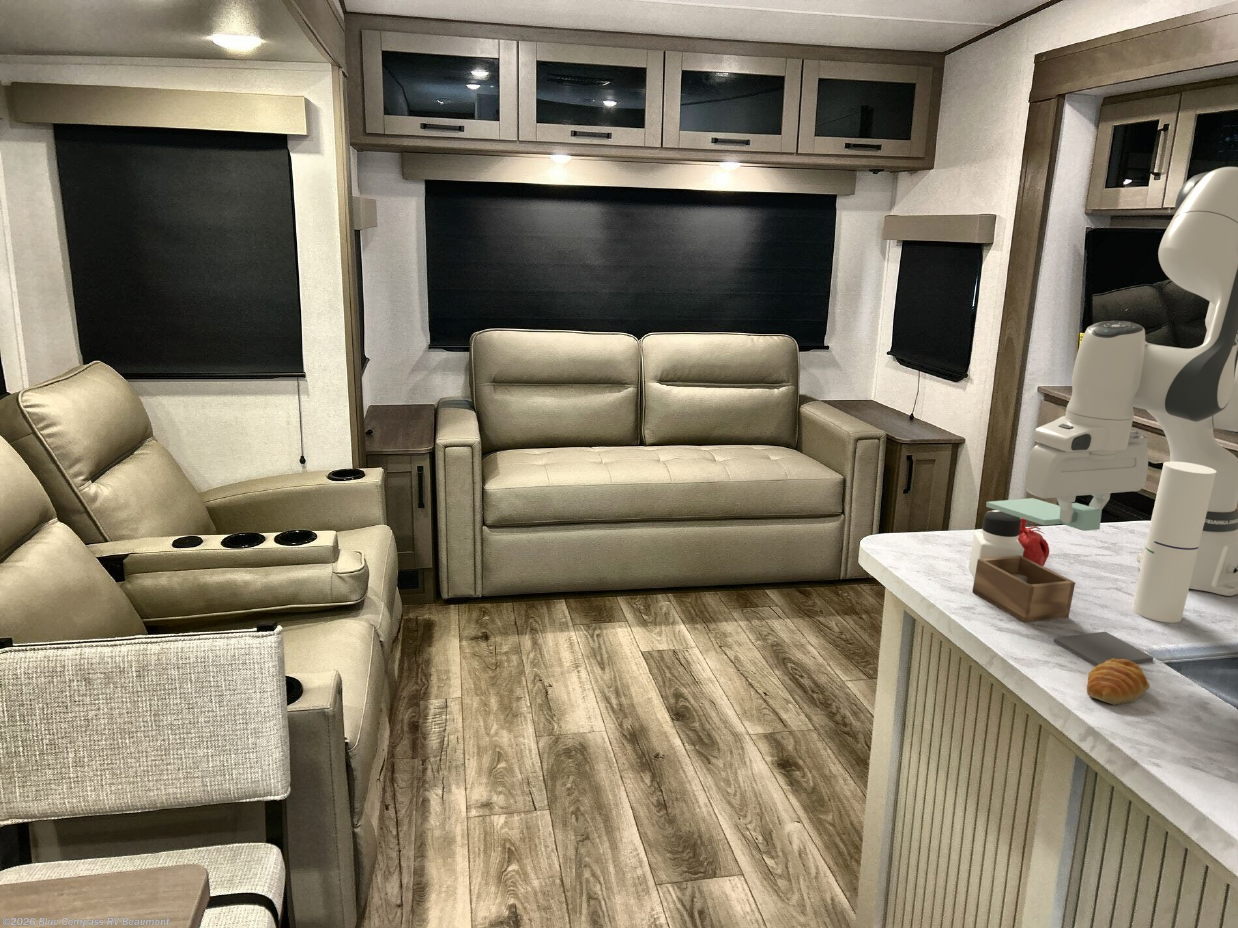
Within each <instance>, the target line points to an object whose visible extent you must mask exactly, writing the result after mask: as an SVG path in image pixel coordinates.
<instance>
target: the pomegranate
mask: <svg viewBox="0 0 1238 928" xmlns="http://www.w3.org/2000/svg"><path fill="white" fill-rule="evenodd" d="M1020 519H1021V526H1020V532H1019V537H1018V541H1019V543H1020V544H1021V545H1022V547H1023V548H1024V555H1023V557H1025V558H1027V559H1029V560H1031V561H1033V562H1035V563H1037V564H1039V565H1041V566H1043V567H1045V565H1046V562H1047V560H1048V558H1049V556H1050V546H1049V544H1048V542H1047V540H1046V539H1045V538H1044V537H1043V535H1042V534H1045V533H1044V532H1043V531H1041V529H1042V528H1041V527H1040V528H1039V527H1038V526H1036V525H1035V526H1031V527H1026V525H1027V521H1028V520H1026V519H1023V518H1020ZM1039 532H1040V533H1042V534H1040V533H1039Z"/></svg>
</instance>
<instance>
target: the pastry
mask: <svg viewBox="0 0 1238 928" xmlns="http://www.w3.org/2000/svg"><path fill="white" fill-rule="evenodd" d="M1150 687H1151V685H1150V683H1149V682H1148V680H1147V677H1146V674H1145V673H1144V671H1143V668H1142V667H1141V666H1140V665H1139V664H1138V663H1134V662H1131V661H1129V660H1127V659H1115V658H1112V659H1111V660H1107V661H1105V662H1104V663H1102V664H1099V665H1097V666H1094V667H1093V669H1092V670H1091V671H1090V672H1089V673H1088V675H1087V684H1086V692H1087V694H1088V696H1089V698H1092V699H1096V700H1099V701H1102V702H1105V703H1107V704H1109V705H1113V706H1114V705H1115V706H1118V705H1120V703H1121V704H1128V703H1129V704H1131V702H1132V703H1135V701H1136V700H1137V698H1138V699H1139V698H1141V697H1142V696H1143V695H1145V693H1147V691H1148V690H1149V689H1150ZM1116 704H1117V705H1116Z"/></svg>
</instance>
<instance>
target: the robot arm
mask: <svg viewBox="0 0 1238 928" xmlns="http://www.w3.org/2000/svg"><path fill="white" fill-rule="evenodd" d="M1157 254H1158V256H1157V257H1158V262H1159V264H1160V267H1161V269H1162V271H1163V272H1164V274H1165V275H1166V277H1168V278H1169V280H1171V282H1173V283H1174V284H1175V285H1177V286H1178V287H1180V288H1182V290H1183V289H1184V290H1185V291H1187V292H1190V293H1192V294H1195V295H1198V296H1200V297H1201V298H1203V299H1205V300H1207V301H1208V302H1209V304H1208V307H1207V313H1206V315H1205V316H1206V317H1205V319H1204V322H1205V324H1204V325H1205V327H1206V333H1205V337H1204V340H1203V343H1202V344H1201V345H1199V346H1196V347H1193V348H1182V347H1174V346H1166V345H1159V344H1155V343H1149V342H1147V341H1146V330H1145V328H1144V327H1143V326H1142V325H1140V324H1137V323H1135V322H1131V321H1126V320H1110V321H1105V320H1104V321H1100V322H1095V323H1093V324H1092V325H1090V326H1088V327H1087V328H1086V330H1085V332H1084V333H1083V336H1082V338H1081V340H1080V344H1079V348H1078V351H1077V353H1076V358H1075V361H1074V365H1073V371H1072V376H1071V391H1072V392H1071V396H1070V400H1068V401H1069V402H1068V404H1067V405H1066V409H1065V415H1062V416H1060V417H1059V418H1057V419H1054V420H1053V421H1051V422H1047V423H1046V424H1043V425H1041V426H1039V427H1036V429H1034V432H1033V441H1034V442H1037V444H1036V445H1034V446H1033V448H1032V449H1031V451H1030V453H1029V458H1028V460H1027V466H1026V471H1025V477H1024V487H1025V489H1026V491H1027V493H1029V494H1031V495H1033V496H1035V497H1038V498H1040V499H1054V498H1056V500H1057V503H1058V506H1060V509H1061V514H1060V520H1061V521H1063V522H1065V523H1073V522H1076V517H1077V514H1078V512H1076V511H1073V507H1072V503H1076V502H1075V501H1076V498H1077V496H1089V495H1090V496H1092V499H1091V501H1090V502H1089V504H1088V506H1089V507H1093V508H1096V509H1100V510H1103V509H1104V507H1105V506H1106V505H1107V503H1109V501H1110V498H1111V494H1112V493H1116V494H1117V493H1126V492H1127V493H1128V492H1137V491H1138V492H1139V491H1141V490H1142V489H1143V487H1144V486H1145V485H1146V483H1147V478H1148V477H1147V475H1148V469H1149V468H1148V467H1149V450H1148V444H1149V438H1148V437H1147V435H1146V434H1145V433H1144V432H1143V431H1142V430H1138V429H1136V430H1132V426H1133V420H1134V414H1135V413H1134V408H1136V409H1141V410H1145V411H1146V412H1147V413H1149V415H1151V416H1152V417H1153V418H1154V420H1156V422H1157V423H1158V425H1159V426H1160V427H1161V429H1162V431H1163V433H1164V435H1165V437H1166V441H1167V443H1168V448H1169V462H1170V461H1175V462H1186V463H1193V464H1198V465H1202V466H1206V467H1209V468H1212V469H1214V470H1216V475H1215V480H1214V484H1213V488H1212V493H1211V497H1210V501H1209V505H1208V510H1207V514H1206V518H1205V522H1204V526H1203V531H1202V535H1201V539H1200V543H1199V546H1198V552H1197V556H1196V560H1195V564H1194V569H1193V573H1192V577H1191V582H1190V586H1189V589H1191V590H1197V591H1202V592H1203V591H1204V592H1209V593H1213V594H1217V595H1222V596H1228V597H1230V596H1234V595H1235V596H1236V595H1238V508H1237V504H1238V457H1237V456H1236V455H1235V454H1233V453H1232V452H1230V451H1229V450H1228V449H1226V448H1225V447H1223V446H1222V445H1220V444H1219V442H1218V441H1217V440H1216V437H1215V436H1214V429H1215V430H1216V429H1217V430H1222V431H1223V430H1224V431H1230V432H1236V433H1238V166H1224V167H1220V168H1216V169H1213V170H1211V171H1205V172H1201V173H1198V174H1196V175H1193V176H1192V177H1191V178H1189V179H1188V180H1187V181H1186V182H1185V183H1184V184H1183V185H1182V186H1181V187H1180V189H1179V191H1178V193H1177V197H1176V199H1175V204H1174V216H1173V217H1172V219H1171V221H1170V223H1169V224H1168V226H1167V228H1166V230H1165V232H1164V234H1163V236H1162V238H1161V241H1160V244H1159V247H1158V252H1157ZM1146 541H1147V539H1146ZM1146 541H1145V544H1144V547H1143V550H1142V552H1138V554H1137V556H1136V559H1137V561H1138V562H1139V563H1138V565H1137V566H1138V569H1139V570H1140V569H1141V564H1142V560H1143V555H1144V550H1145V547H1146Z"/></svg>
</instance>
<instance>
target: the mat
mask: <svg viewBox="0 0 1238 928" xmlns="http://www.w3.org/2000/svg"><path fill="white" fill-rule="evenodd" d="M1052 642H1053V643H1055V644H1057V645H1059V646H1060V647H1062V648H1063V649H1065V650H1067V651H1069V652H1070V653H1073V654H1074V655H1076V656H1077V657H1078V658H1081V659H1082V660H1084V661H1086V662H1087V663H1090V664H1091V665H1093V666H1094V667H1096V666H1097V665H1099V664H1102V663H1104V662H1105V661H1107V660H1111V659H1112V658H1115V659H1127V660H1129V661H1131V662H1134V663H1135V664H1141V663H1146V662H1147V663H1148V662H1153V661H1154V656H1152V655H1150V654H1148V653H1147V652H1144V651H1142V650H1140V649H1138V648H1137V647H1135V646H1134V645H1132V644H1129V642H1126V641H1125V640H1122V639H1120V638H1118V637H1117V636H1114V635H1113V634H1112V633H1109V632H1107V631H1100V632H1099V631H1098V632H1090V633H1083V634H1081V633H1080V634H1075V635H1066V636H1059V637H1054V638H1053V641H1052Z"/></svg>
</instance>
